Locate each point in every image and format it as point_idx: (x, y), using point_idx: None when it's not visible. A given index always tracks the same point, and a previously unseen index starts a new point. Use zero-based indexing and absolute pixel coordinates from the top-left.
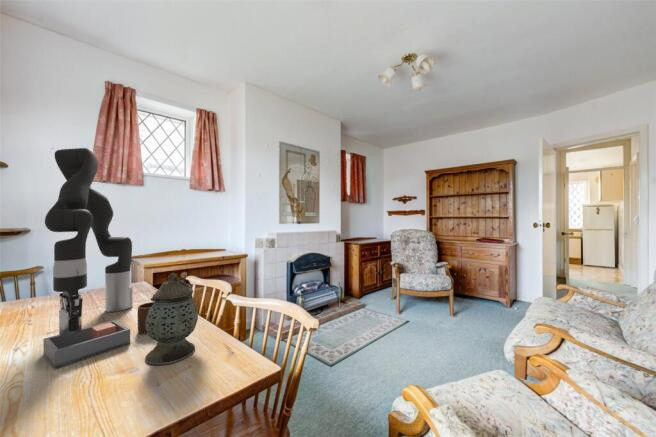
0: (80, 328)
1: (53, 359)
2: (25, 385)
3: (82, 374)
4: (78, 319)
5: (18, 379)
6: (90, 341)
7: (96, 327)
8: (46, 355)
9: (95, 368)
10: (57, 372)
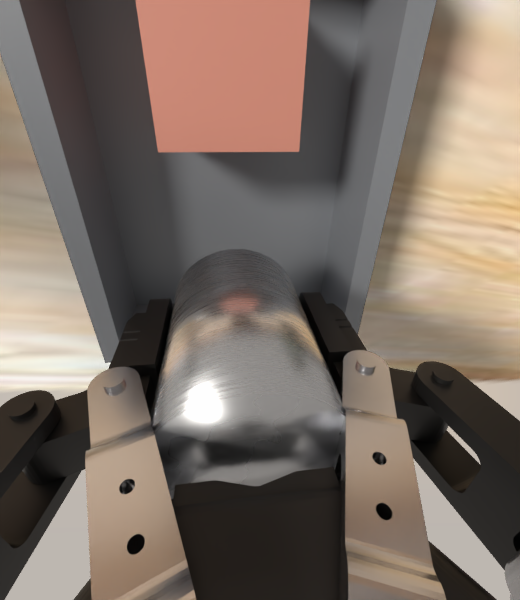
0: (276, 268)
1: None
2: None
3: (467, 247)
4: (346, 340)
5: None
6: (383, 213)
7: (196, 124)
8: None
9: (473, 204)
10: None
